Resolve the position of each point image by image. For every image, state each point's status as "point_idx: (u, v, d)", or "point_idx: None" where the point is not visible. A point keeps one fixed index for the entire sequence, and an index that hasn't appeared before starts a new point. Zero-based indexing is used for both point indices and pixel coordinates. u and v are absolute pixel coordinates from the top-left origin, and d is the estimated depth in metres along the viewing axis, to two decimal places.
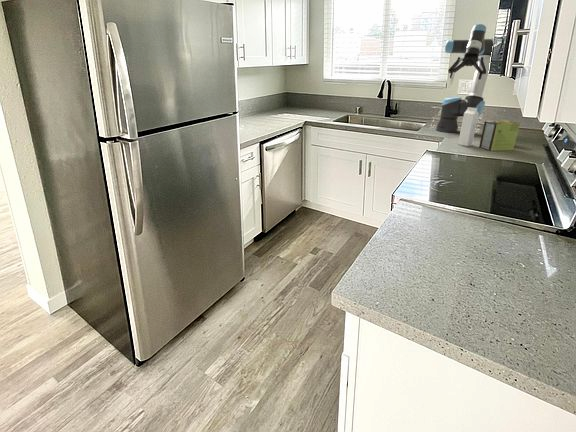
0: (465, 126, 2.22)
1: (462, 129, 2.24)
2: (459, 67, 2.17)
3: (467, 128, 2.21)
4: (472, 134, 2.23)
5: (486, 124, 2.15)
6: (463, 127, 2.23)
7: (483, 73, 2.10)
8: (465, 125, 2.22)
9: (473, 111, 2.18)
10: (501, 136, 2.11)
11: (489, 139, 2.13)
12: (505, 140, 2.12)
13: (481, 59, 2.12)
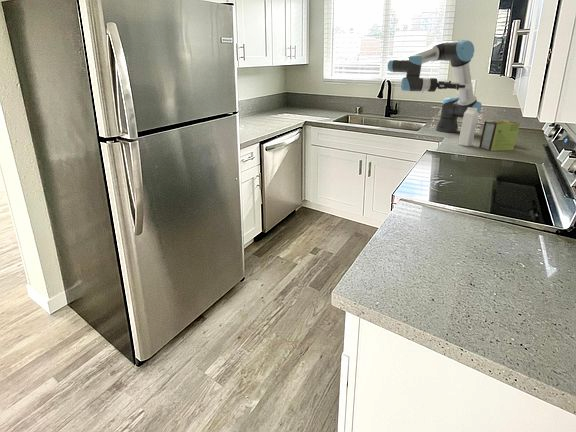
0: (465, 126, 2.22)
1: (462, 129, 2.24)
2: None
3: (467, 128, 2.21)
4: (472, 134, 2.23)
5: (486, 124, 2.15)
6: (463, 127, 2.23)
7: (459, 86, 2.08)
8: (465, 125, 2.22)
9: (473, 111, 2.18)
10: (501, 136, 2.11)
11: (489, 139, 2.13)
12: (505, 140, 2.12)
13: (442, 88, 2.12)
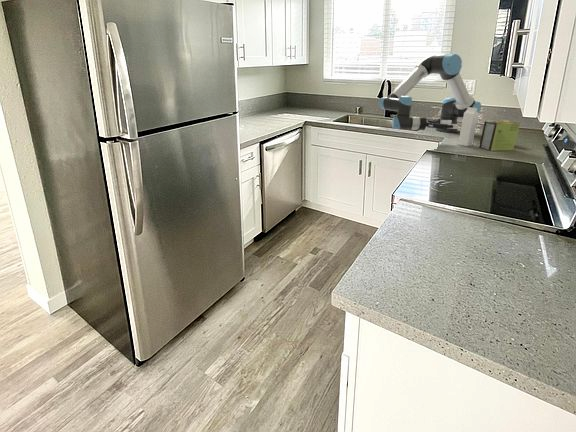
0: (465, 126, 2.22)
1: (462, 129, 2.24)
2: None
3: (467, 128, 2.21)
4: (472, 134, 2.23)
5: (486, 124, 2.15)
6: (463, 127, 2.23)
7: (447, 126, 2.16)
8: (465, 125, 2.22)
9: (473, 111, 2.18)
10: (501, 136, 2.11)
11: (489, 139, 2.13)
12: (505, 140, 2.12)
13: (431, 127, 2.19)
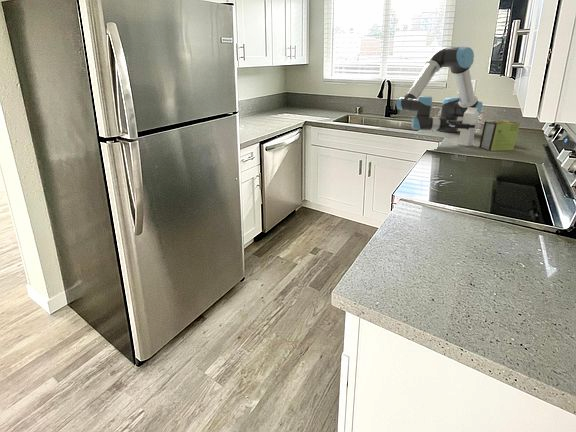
0: None
1: (462, 129, 2.24)
2: None
3: None
4: (472, 134, 2.23)
5: (486, 124, 2.15)
6: None
7: (469, 126, 2.17)
8: None
9: (473, 111, 2.18)
10: (501, 136, 2.11)
11: (489, 139, 2.13)
12: (505, 140, 2.12)
13: (453, 127, 2.19)
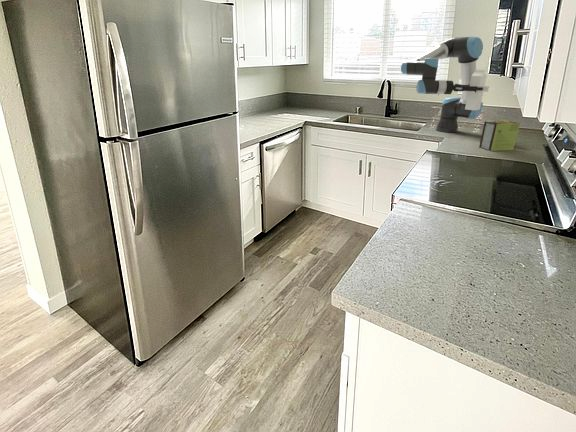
0: None
1: (469, 92, 2.15)
2: None
3: None
4: (480, 98, 2.15)
5: (486, 124, 2.15)
6: None
7: (476, 88, 2.09)
8: None
9: (481, 73, 2.10)
10: (501, 136, 2.11)
11: (489, 139, 2.13)
12: (505, 140, 2.12)
13: (460, 90, 2.11)
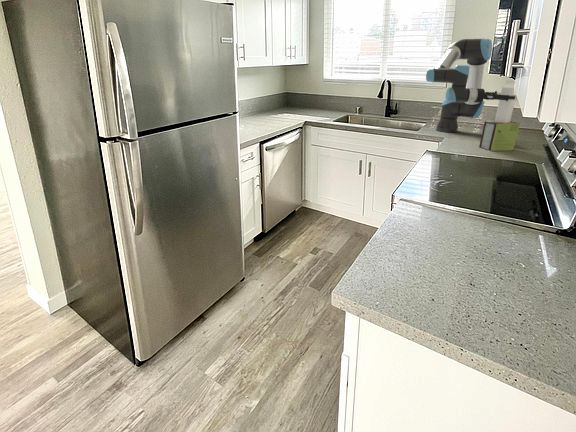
0: (503, 102, 2.07)
1: (499, 104, 2.09)
2: None
3: (505, 103, 2.06)
4: (511, 110, 2.09)
5: (486, 124, 2.15)
6: (501, 102, 2.08)
7: (508, 97, 1.99)
8: (503, 100, 2.07)
9: (512, 85, 2.03)
10: (501, 136, 2.11)
11: (489, 139, 2.13)
12: (505, 140, 2.12)
13: (490, 99, 2.03)
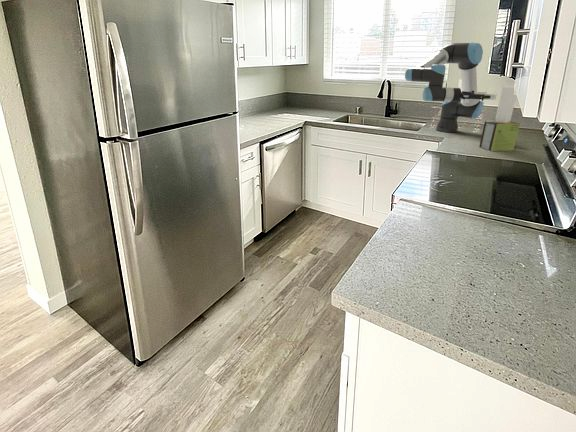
0: (503, 102, 2.07)
1: (499, 104, 2.09)
2: None
3: (506, 103, 2.06)
4: (511, 111, 2.09)
5: (486, 124, 2.15)
6: (502, 102, 2.08)
7: (484, 96, 2.00)
8: (503, 100, 2.07)
9: (513, 85, 2.03)
10: (501, 137, 2.11)
11: (489, 139, 2.13)
12: (505, 140, 2.12)
13: None
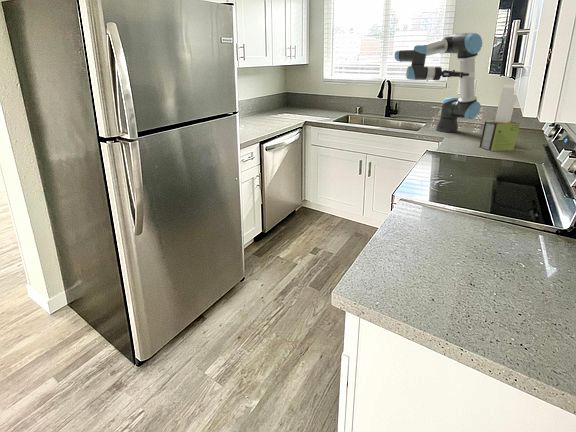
0: (503, 102, 2.07)
1: (500, 104, 2.09)
2: None
3: (506, 103, 2.06)
4: (511, 111, 2.09)
5: (486, 124, 2.15)
6: (502, 102, 2.08)
7: (462, 74, 2.13)
8: (504, 100, 2.07)
9: (513, 85, 2.03)
10: (501, 137, 2.11)
11: (489, 139, 2.13)
12: (505, 140, 2.12)
13: (446, 76, 2.17)
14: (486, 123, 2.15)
